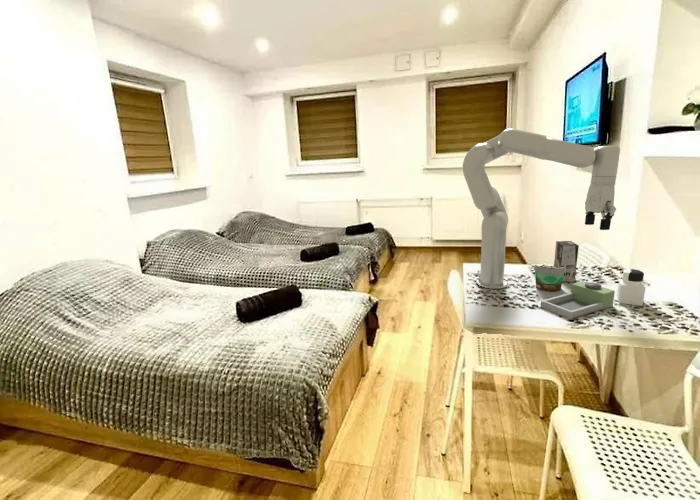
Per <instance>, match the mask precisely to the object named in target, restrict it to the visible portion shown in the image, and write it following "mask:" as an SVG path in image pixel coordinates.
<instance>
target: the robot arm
mask: <svg viewBox="0 0 700 500" xmlns="http://www.w3.org/2000/svg"><path fill="white" fill-rule="evenodd" d="M509 153H514V154H518V155H521V156H522V155H523V156H527V157H531V158H534V159H538V160H544V161H545V160H546V161H550V162H555V163H559V164H563V165H568V166H570V167H576V168H581V169H584V168H587V167H590V166H592V169H591V178H590V179H591V180H590V184H589V186H588V190H587V194H586V198H585V202H584V209H585V219H584V220H585V221H584V225H586V226H592V225H594V224H595V219H596V214H595V213H597V214H601V217H602V218H601V219H600V223H599V225H600V226H599V230H600V231H609V230H610V228H611V222H612V219H613V217H614V216H615V213H616V211H617V208H616V206H615V205H614V204H615V203H614V202H615V194H616V193H615V186H616V180H617V174H618V167H619V161H620V154H621V147H620V146H618V145H601V146H600V145H599V146H589V145H584V144H579V143H574V142H571V141H565V140H561V139H557V138H555V137H551V136H548V135H543V134H539V133H535V132H530V131H526V130H522V129H517V128H512V127H511V128H506V129H504V130H503V131H502V132H500V133H499V134H498V135H497V136H495V137H493V138H491V139H489V140H486V141H484V142H483V143H482V142H480V143H477V144H475V145H474V146H472V147H471V148H470V149H469V151H468V152H467V153H466V154H465V157H464V158H463V163H462V173H463V177H464V179H465V181H466V185H467V188H468V190H469V192H470V196H471V198H472V201H473V203H474V206H475V207H476V208H477V209H478V210H480V211H481V214H482V218H483V219H482V222H481V248H480V249H481V251H480V269H479V270H477V271H476V272H475V276H477V277H478V279H476V281H475V282H476V283H477V284H478V285H479V286H478V285H477V284H476V283H475V284H476V285H477V286H478V287H480V286H482V287H481V288H483V287H485V288H484V289H488V288H489V289H490V290H499V289H504V288H506V287H508V282H507V281H506V280H505V279H504V278H505V265H506V264H505V261H506V246H507V245H506V240H507V228H508V223H509V215H508V212H507V210H506V209H505V206H504V203H503V201H502V198H501V196H500V194H499V191H498V190H497V189H496V188H495V187H493V186H492V184H491V182H490V179H489V177H488V174H487V172H486V170H485V169H486V168H485V166H486V165H488V164H489V163H491V162H493V161H495V160H497V159H499V158H501V157H502V156H503V157H504V156H505V155H507V154H509Z"/></svg>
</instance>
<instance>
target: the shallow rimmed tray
mask: <svg viewBox="0 0 700 500" xmlns="http://www.w3.org/2000/svg"><path fill="white" fill-rule="evenodd" d="M570 291H571V292H568V293H564V294H561V295H557V296H554V297H550V298H546V299H543V300H540V308H542V309H545V310H548V311H550V312H552V313H554V314H556V315H560V316H561V317H564V318H567V319H569V320H573V319H576V318H579V317H582V316H585V315H586V316H587V315H589V314H592V313H594V312H595V313H596V312H599V311H603V310H605V309H608V308H611V307H613V306H614V299H615V293H616V291H615V290H614V289H612V288H611V289H610V288H607V287H603V286H602V284H601V283H599V282H598V283H597V282H591V281H590V282H589V281H588V282H587V281H579V282H573V283H571V290H570Z"/></svg>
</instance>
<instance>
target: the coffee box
mask: <svg viewBox="0 0 700 500" xmlns="http://www.w3.org/2000/svg"><path fill="white" fill-rule="evenodd" d="M579 246H580V245H579V244H577V243H575V242H573V241H572V240H561V241H559V240H556V241H555V248H554V249H555V252H554V259H553V260H554V262H553V266H555V267H564V265H565V266H566V270H567V271H566V272H565V273H564V276H563V281H562V282H573V283H576V282H575V281H576V274H577V273H576V272H577V265H578V256H579V249H580V248H579Z"/></svg>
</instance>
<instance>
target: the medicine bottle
mask: <svg viewBox="0 0 700 500" xmlns="http://www.w3.org/2000/svg"><path fill="white" fill-rule="evenodd" d="M622 272H623V273H622V276H621V278H622V279H620V278H619V280H618V286H617V291H616V292H617V294H616V298H617V302H618V304H624V305H633V306H639V307H643V305H644V304H643V303H644V300H645V299H644V298H645V293H646V292H645V291H646V286H645V284H644V282H643V281H644V278H645V277H644V275H645V273H644V271H641V270H640V269H635V268H629V269H623V271H622Z"/></svg>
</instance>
